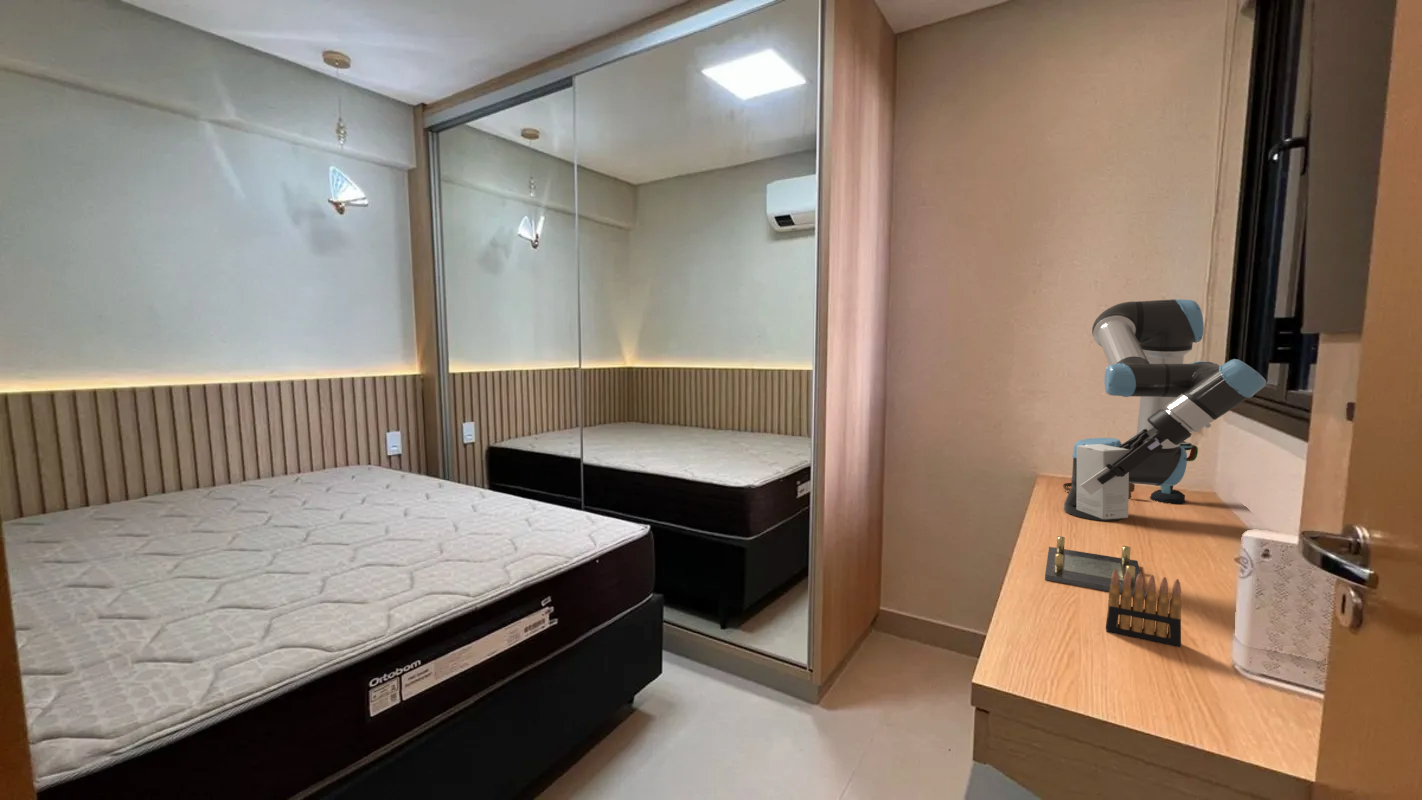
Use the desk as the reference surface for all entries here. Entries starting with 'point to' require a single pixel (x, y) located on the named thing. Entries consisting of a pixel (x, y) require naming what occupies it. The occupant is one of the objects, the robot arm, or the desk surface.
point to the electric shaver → (1167, 491)
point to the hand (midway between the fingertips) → (1085, 484)
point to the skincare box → (1112, 495)
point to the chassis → (1089, 568)
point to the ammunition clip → (1145, 611)
